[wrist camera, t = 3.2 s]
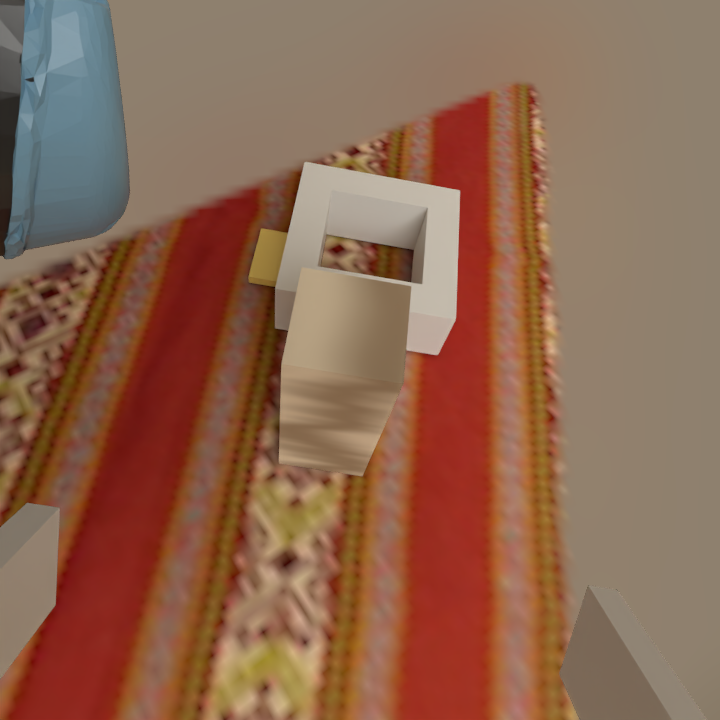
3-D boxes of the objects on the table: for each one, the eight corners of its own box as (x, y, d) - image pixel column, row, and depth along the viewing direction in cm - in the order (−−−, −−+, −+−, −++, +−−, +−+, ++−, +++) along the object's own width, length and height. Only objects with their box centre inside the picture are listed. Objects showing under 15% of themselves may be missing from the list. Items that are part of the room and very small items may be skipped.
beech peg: (278, 463, 30) (281, 363, 20) (293, 388, 32) (301, 267, 23) (362, 476, 30) (403, 383, 21) (370, 400, 32) (411, 286, 23)
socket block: (238, 322, 34) (234, 281, 30) (270, 201, 39) (269, 155, 35) (437, 355, 35) (455, 319, 31) (443, 233, 40) (460, 190, 36)
